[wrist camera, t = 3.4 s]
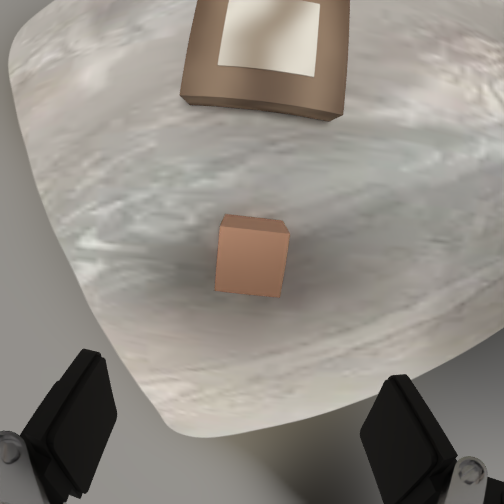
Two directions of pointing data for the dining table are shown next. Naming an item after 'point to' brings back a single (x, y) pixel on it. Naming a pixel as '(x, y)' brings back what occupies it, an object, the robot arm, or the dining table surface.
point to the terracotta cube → (251, 255)
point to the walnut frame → (269, 56)
